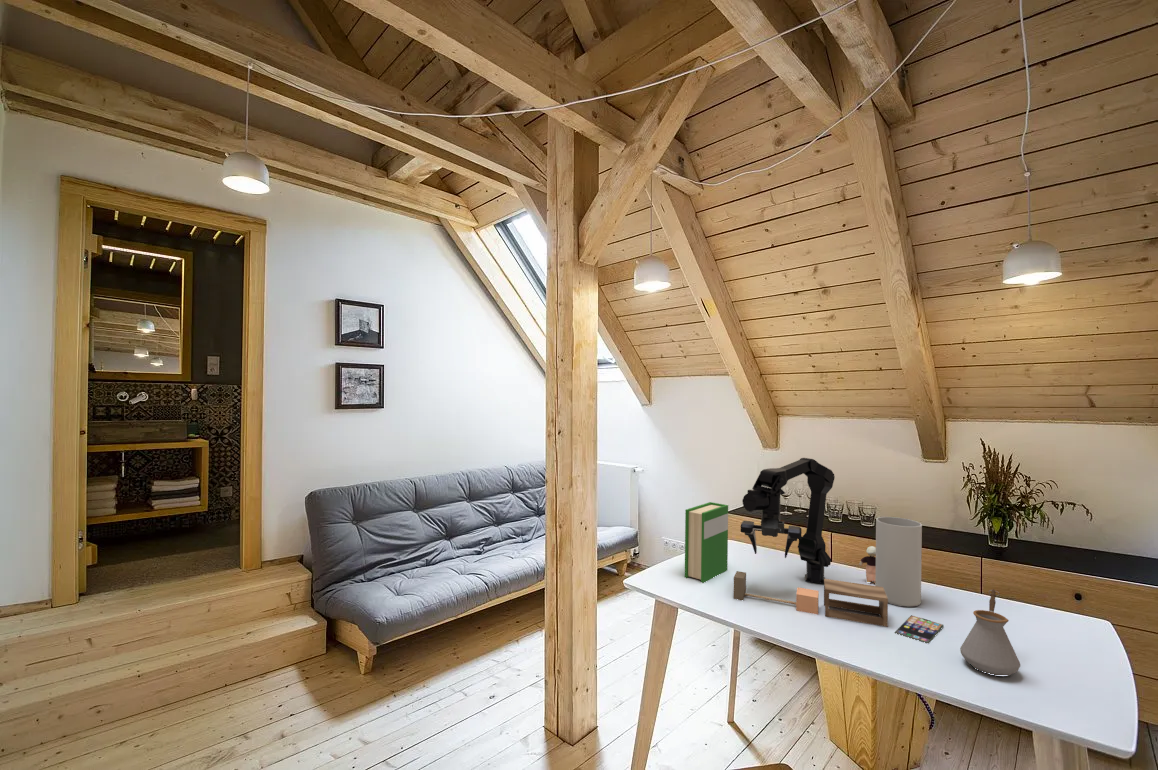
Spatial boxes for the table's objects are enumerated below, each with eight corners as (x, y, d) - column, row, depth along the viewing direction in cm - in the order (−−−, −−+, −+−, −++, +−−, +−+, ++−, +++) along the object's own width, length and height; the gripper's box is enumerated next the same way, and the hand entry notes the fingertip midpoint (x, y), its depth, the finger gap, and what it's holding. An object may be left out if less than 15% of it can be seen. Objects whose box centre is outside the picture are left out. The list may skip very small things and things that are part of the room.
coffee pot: (1019, 687, 118) (1020, 621, 118) (957, 669, 125) (957, 607, 126) (1022, 652, 134) (1022, 594, 134) (966, 637, 141) (967, 582, 141)
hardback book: (703, 583, 179) (704, 513, 179) (684, 577, 184) (685, 509, 184) (727, 570, 192) (728, 505, 192) (709, 565, 197) (710, 502, 197)
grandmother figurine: (883, 582, 181) (883, 546, 181) (884, 586, 178) (885, 549, 178) (858, 579, 184) (858, 543, 185) (859, 582, 181) (859, 546, 181)
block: (736, 592, 171) (736, 571, 171) (818, 607, 160) (818, 584, 160) (733, 598, 166) (733, 576, 166) (817, 614, 155) (818, 591, 155)
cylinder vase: (878, 603, 163) (879, 524, 163) (872, 589, 175) (873, 515, 175) (925, 610, 159) (926, 528, 159) (916, 595, 170) (916, 519, 170)
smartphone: (894, 634, 144) (894, 630, 144) (911, 618, 154) (911, 614, 154) (928, 645, 138) (928, 641, 138) (943, 628, 148) (943, 624, 148)
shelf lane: (823, 604, 162) (824, 578, 162) (882, 613, 156) (882, 587, 156) (825, 616, 154) (825, 589, 154) (887, 626, 147) (887, 598, 147)
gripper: (739, 510, 168) (738, 558, 168) (801, 516, 161) (801, 567, 161) (742, 503, 178) (742, 549, 178) (801, 509, 171) (801, 556, 171)
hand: (770, 555), depth 172 cm, fingers open, 9 cm apart
